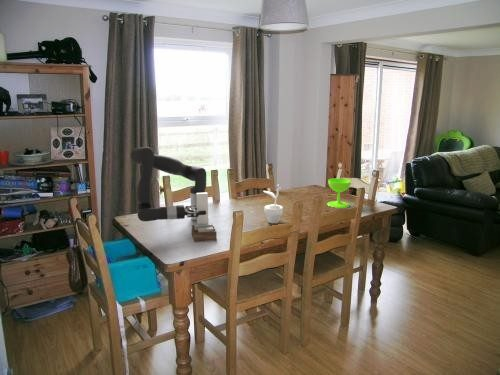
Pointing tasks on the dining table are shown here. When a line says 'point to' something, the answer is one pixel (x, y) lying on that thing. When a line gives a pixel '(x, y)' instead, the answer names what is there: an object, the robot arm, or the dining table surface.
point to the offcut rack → (203, 235)
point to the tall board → (202, 207)
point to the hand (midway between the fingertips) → (205, 210)
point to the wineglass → (339, 186)
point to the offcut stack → (204, 227)
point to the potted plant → (273, 208)
